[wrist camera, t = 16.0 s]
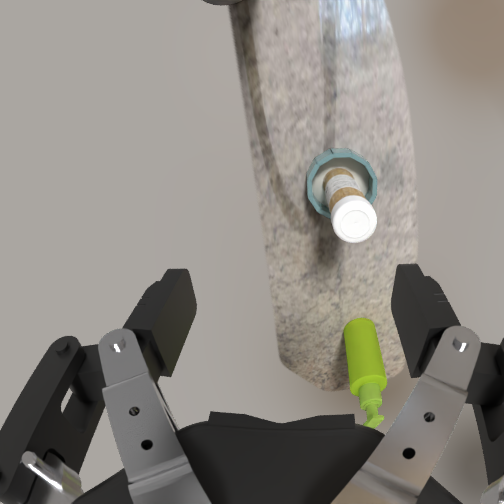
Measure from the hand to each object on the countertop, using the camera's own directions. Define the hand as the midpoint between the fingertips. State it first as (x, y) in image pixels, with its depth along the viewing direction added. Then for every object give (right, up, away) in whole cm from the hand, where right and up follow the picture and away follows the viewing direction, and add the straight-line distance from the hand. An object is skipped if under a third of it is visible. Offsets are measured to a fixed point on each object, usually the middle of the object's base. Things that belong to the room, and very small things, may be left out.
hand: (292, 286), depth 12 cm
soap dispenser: (+18, -13, +42) cm, 48 cm away
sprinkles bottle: (+10, +11, +29) cm, 33 cm away
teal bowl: (+10, +11, +29) cm, 33 cm away
